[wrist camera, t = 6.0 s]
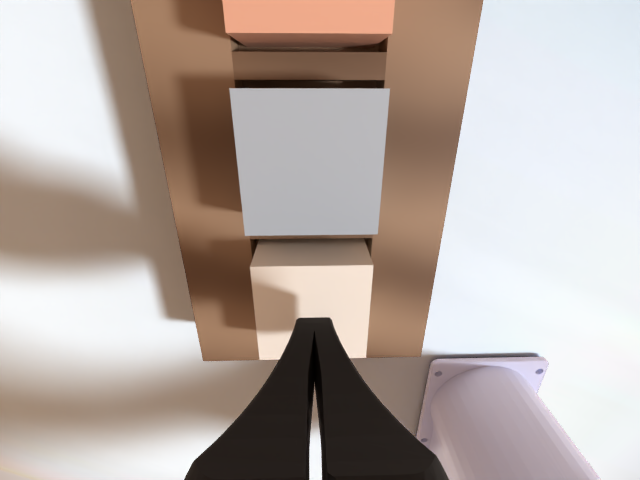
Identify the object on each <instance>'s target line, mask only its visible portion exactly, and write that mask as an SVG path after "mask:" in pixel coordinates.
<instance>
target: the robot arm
mask: <svg viewBox="0 0 640 480" xmlns="http://www.w3.org/2000/svg"><path fill="white" fill-rule="evenodd" d="M548 365H549V363H548V361H547V360H546V359H545V358H544V357H503V358H455V359H435V360H433V361H432V362H431V364H430V369H429V374H428V379H427V384H426V389H425V394H424V400H423V405H422V410H421V415H420V420H419V425H418V430H417V435H416V437H414V436H413V435H412V434H411V433H410V432H409V431H408V430H407V429H406V428H405V427H404V426H403V425H402V424H401V423H400V422H399V421H398V420H397V419H396V418H395V417H394V416H393V415H392V414H391V413H390V412H389V410H388V409H387V408H386V407H385V406H384V405H383V404H382V403H381V402H380V401H379V399H378V398H377V397H376V396H375V394H374V393H373V392H372V391H371V389H370V388H369V387H368V385H367V384H366V383H365V381H364V380H363V379H362V377H361V376H360V374H359V373H358V371H357V370H356V368H355V367H354V365H353V363H352V362H351V360H350V358H349V357H348V355H347V353H346V351H345V349H344V348H343V346H342V344H341V342H340V340H339V338H338V335H337V333H336V331H335V328H334V325H333V322H332V319H331V318H330V317H315V318H298V319H297V320H296V322H295V326H294V329H293V332H292V334H291V337H290V339H289V342H288V344H287V346H286V348H285V350H284V352H283V354H282V356H281V358H280V359H279V361H278V363H277V365H276V366H275V368H274V370H273V371H272V373H271V375H270V376H269V378H268V379H267V381H266V382H265V384H264V385H263V387H262V388H261V389H260V391H259V392H258V394H257V395H256V396H255V397H254V399H253V400H252V401H251V403H250V404H249V405H248V406H247V408H246V409H245V410H244V411H243V412H242V414H241V415H240V416H239V417H238V418H237V419H236V420H235V421H234V422H233V423H232V425H231V426H230V427H229V428H228V429H227V430H226V431H225V432H224V433H223V434H222V435H221V436H220V437H219V438H218V439H217V440H216V441H215V442H214V443H213V444H212V445H211V446H210V447H209V448H207V449H206V450H205V451H204V452H203V453H202V454H201V455H200V456H199V457H198V458H197V459H196V460H194V462H193V463H192V465H191V467H190V469H189V471H188V473H187V475H186V477H185V479H184V480H309V444H310V429H311V418H312V406H313V394H314V382H315V390H316V399H317V408H318V418H319V427H320V436H321V450H322V480H601V479H600V477H599V476H598V475H597V473H596V472H595V471H594V469H593V468H592V467H591V465H590V464H589V463H588V461H587V460H586V459H585V457H584V456H583V455H582V453H581V452H580V451H579V449H578V448H577V447H576V445H575V444H574V443H573V441H572V440H571V439H570V437H569V436H568V435H567V433H566V432H565V431H564V429H563V428H562V427H561V425H560V424H559V423H558V421H557V420H556V419H555V417H554V416H553V415H552V413H551V412H550V411H549V409H548V408H547V407H546V405H545V404H544V403H543V401H542V400H541V399H540V397H539V396H538V395H537V392H538V390H539V387H540V385H541V383H542V380H543V378H544V375H545V373H546V370H547V368H548ZM437 371H438V372H437Z"/></svg>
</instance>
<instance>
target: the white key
mask: <svg viewBox="0 0 640 480" xmlns="http://www.w3.org/2000/svg"><path fill="white" fill-rule="evenodd" d="M250 273H251V282H252V292H253V302H254V311H255V321H256V331H257V340H258V350H259V360H279V359H280V358H281V356H282V354H283V352H284V350H285V348H286V346H287V344H288V342H289V339H290V337H291V334H292V332H293V329H294V326H295V322H296V320H297V319H298V318H315V317H330V318H331V319H332V322H333V325H334V328H335V331H336V333H337V335H338V338H339V340H340V342H341V344H342V346H343V348H344V349H345V351H346V353H347V355H348V357H349V358H366V351H367V339H368V327H369V315H370V302H371V290H372V278H373V262H372V260H371V257H370V254H369V251H368V249H367V246H366V243H365V240H364V238H322V239H259V241H258V244H257V247H256V250H255V253H254V256H253V259H252V262H251V265H250Z"/></svg>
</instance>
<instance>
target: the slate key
mask: <svg viewBox="0 0 640 480" xmlns="http://www.w3.org/2000/svg"><path fill="white" fill-rule="evenodd" d="M229 90H230V99H231V109H232V118H233V128H234V137H235V147H236V156H237V165H238V175H239V184H240V194H241V203H242V213H243V222H244V232H245V236H275V235H370V234H378V226H379V214H380V202H381V190H382V178H383V166H384V154H385V142H386V130H387V118H388V107H389V95H390V89H371V88H229Z"/></svg>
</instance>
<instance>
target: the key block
mask: <svg viewBox="0 0 640 480" xmlns="http://www.w3.org/2000/svg"><path fill="white" fill-rule="evenodd" d="M131 5H132V10H133V15H134V20H135V25H136V30H137V35H138V40H139V45H140V50H141V55H142V60H143V65H144V69H145V74H146V79H147V84H148V89H149V94H150V99H151V104H152V109H153V114H154V119H155V124H156V129H157V134H158V139H159V144H160V149H161V154H162V159H163V164H164V169H165V174H166V179H167V184H168V189H169V194H170V199H171V203H172V208H173V213H174V218H175V223H176V228H177V233H178V238H179V243H180V248H181V253H182V258H183V263H184V268H185V273H186V278H187V283H188V288H189V293H190V298H191V303H192V308H193V313H194V318H195V323H196V328H197V332H198V337H199V342H200V347H201V352H202V357H203V361H231V360H259V350H258V340H257V331H256V321H255V311H254V302H253V292H252V282H251V273H250V265H251V262H252V259H253V256H254V253H255V250H256V247H257V244H258V241H259V239H322V238H364V240H365V243H366V246H367V249H368V251H369V254H370V257H371V260H372V262H373V278H372V290H371V302H370V315H369V327H368V339H367V351H366V358H375V357H421V352H422V346H423V340H424V335H425V329H426V323H427V318H428V312H429V306H430V301H431V295H432V289H433V283H434V278H435V272H436V266H437V261H438V255H439V249H440V244H441V238H442V232H443V227H444V221H445V215H446V210H447V204H448V198H449V192H450V187H451V181H452V175H453V170H454V164H455V158H456V153H457V147H458V141H459V136H460V130H461V124H462V119H463V113H464V107H465V101H466V96H467V90H468V84H469V79H470V73H471V67H472V62H473V56H474V50H475V45H476V39H477V33H478V27H479V22H480V16H481V10H482V5H483V0H395V8H394V20H393V32H392V34H391V35H390V36H388V37H387V38H385V39H384V40H383V41H381V42H380V43H378V44H377V45H375V46H374V47H372V48H344V47H246V46H244V45H243V44H241V43H240V42H239V41H237V40H236V39H234V38H233V37H231V36H230V35H228V34H227V33H226V31H225V21H224V11H223V2H222V0H131ZM229 88H371V89H390V95H389V107H388V118H387V130H386V142H385V154H384V166H383V178H382V190H381V202H380V214H379V226H378V234H370V235H275V236H245V232H244V222H243V213H242V203H241V194H240V184H239V175H238V165H237V156H236V147H235V137H234V128H233V118H232V109H231V99H230V90H229Z"/></svg>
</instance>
